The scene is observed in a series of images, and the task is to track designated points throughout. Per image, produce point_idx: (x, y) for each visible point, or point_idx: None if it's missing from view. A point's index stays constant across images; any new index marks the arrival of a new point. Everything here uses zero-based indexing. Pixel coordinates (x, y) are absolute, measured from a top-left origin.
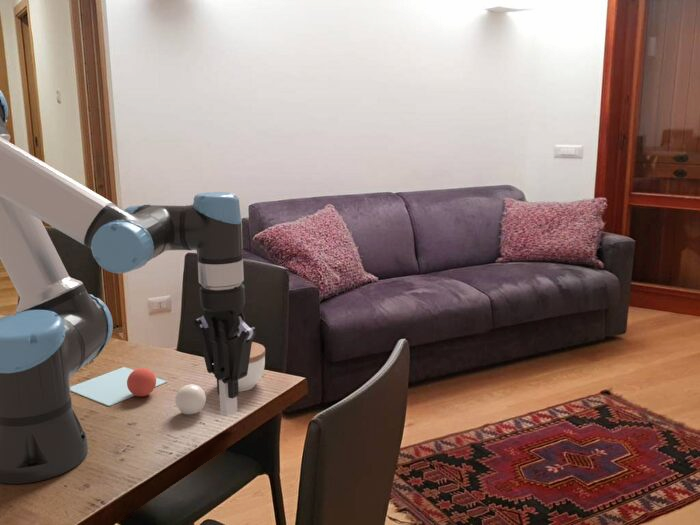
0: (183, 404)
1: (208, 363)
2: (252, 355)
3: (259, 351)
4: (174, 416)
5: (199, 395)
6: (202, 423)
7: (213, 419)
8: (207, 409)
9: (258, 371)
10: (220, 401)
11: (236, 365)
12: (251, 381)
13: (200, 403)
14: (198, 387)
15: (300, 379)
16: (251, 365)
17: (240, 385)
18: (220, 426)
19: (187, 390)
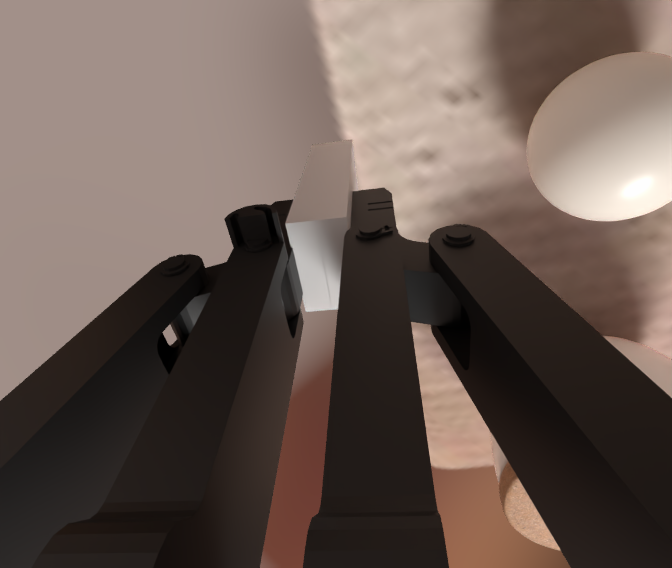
0: (602, 65)
1: (475, 268)
2: (523, 494)
3: (526, 522)
4: (640, 38)
5: (554, 164)
6: (459, 92)
7: (447, 150)
8: (538, 190)
9: (490, 437)
10: (345, 162)
11: (100, 338)
12: None
13: (530, 147)
14: (601, 198)
15: None
16: None
17: None
18: (373, 130)
19: (637, 127)
